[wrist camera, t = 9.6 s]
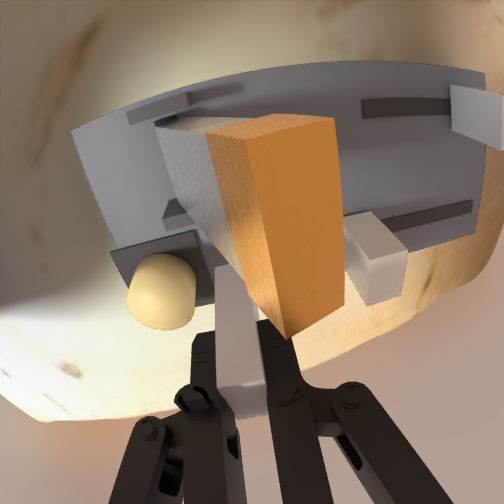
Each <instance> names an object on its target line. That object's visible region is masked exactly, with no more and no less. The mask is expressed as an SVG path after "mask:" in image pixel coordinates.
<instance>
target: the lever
mask: <svg viewBox="0 0 504 504" xmlns="http://www.w3.org/2000/svg"><path fill="white" fill-rule="evenodd" d="M154 124H155V130H156V133H157V137H158V140H159V143H160V147H161V150H162V153H163V156H164V160H165V163H166V166H167V169H168V172H169V176H170V179H171V182H172V185H173V188H174V191H175V194H176V197H177V200H178V202H179V203H180V205H181V206H182V207H183V208H184V209H185V211H186V212H187V213H188V214H189V216H190V217H191V218H192V219H193V220H194V222H195V223H196V224H197V225H198V226H199V228H200V229H201V230H202V231H203V232H204V234H205V235H206V236H207V237H208V238H209V240H210V241H211V242H212V243H213V244H214V246H215V247H216V248H217V249H218V250H219V252H220V253H221V254H222V255H223V256H224V258H225V259H226V260H227V261H228V262H229V263H230V265H231V266H232V267H233V268H234V269H235V271H236V272H237V273H238V274H239V275H240V276H241V278H242V279H243V280H244V281H245V284H246V288H247V291H248V295H249V296H250V297H251V298H252V299H253V301H254V302H255V303H256V304H257V305H258V307H259V308H260V309H261V310H262V311H263V313H264V314H265V315H266V316H267V317H268V319H269V320H270V321H271V322H272V323H273V325H274V326H275V327H276V328H277V329H278V331H279V332H280V333H281V334H282V335H283V337H284V338H285V339H286V340H287V339H288V338H290V337H292V336H294V335H295V334H297V333H299V332H301V331H302V330H304V329H306V328H307V327H309V326H311V325H312V324H314V323H316V322H317V321H319V320H321V319H322V318H324V317H326V316H327V315H329V314H331V313H332V312H334V311H335V310H337V309H339V308H340V307H342V306H343V305H344V284H345V274H344V229H343V208H342V192H341V179H340V167H339V157H338V147H337V138H336V130H335V122H334V118H330V117H320V116H308V115H295V114H276V113H275V114H271V115H267V116H263V117H258V118H231V117H183V118H179V119H178V117H177V114H174V115H171V116H167V117H164V118H161V119H158V120H156V121H154Z"/></svg>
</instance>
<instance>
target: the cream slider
mask: <svg viewBox="0 0 504 504" xmlns="http://www.w3.org/2000/svg"><path fill="white" fill-rule="evenodd" d="M343 229H344V269H345V270H346V272H347V274H348V275H349V277H350V279H351V280H352V282H353V284H354V285H355V287H356V289H357V291H358V292H359V294H360V296H361V298H362V299H363V301H364V303H365V305H366V306H370V305H373V304H376V303H380V302H383V301H386V300H389V299H392V298H395V297H398V296H401V293H402V288H403V282H404V276H405V269H406V262H407V255H408V249H407V248H406V247H405V246H404V245H403V244H402V243H401V242H400V241H399V240H398V239H397V237H396V236H395V235H394V234H393V233H392V232H391V231H390V230H389V229H388V228H387V227H386V226H385V225H384V224H383V223H382V222H381V221H380V220H379V219H378V218H377V217H376V216H375V215H374V214H373V213H372V212H371V211H369V212H365V213H360V214H356V215H351V216H346V217H343Z"/></svg>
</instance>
